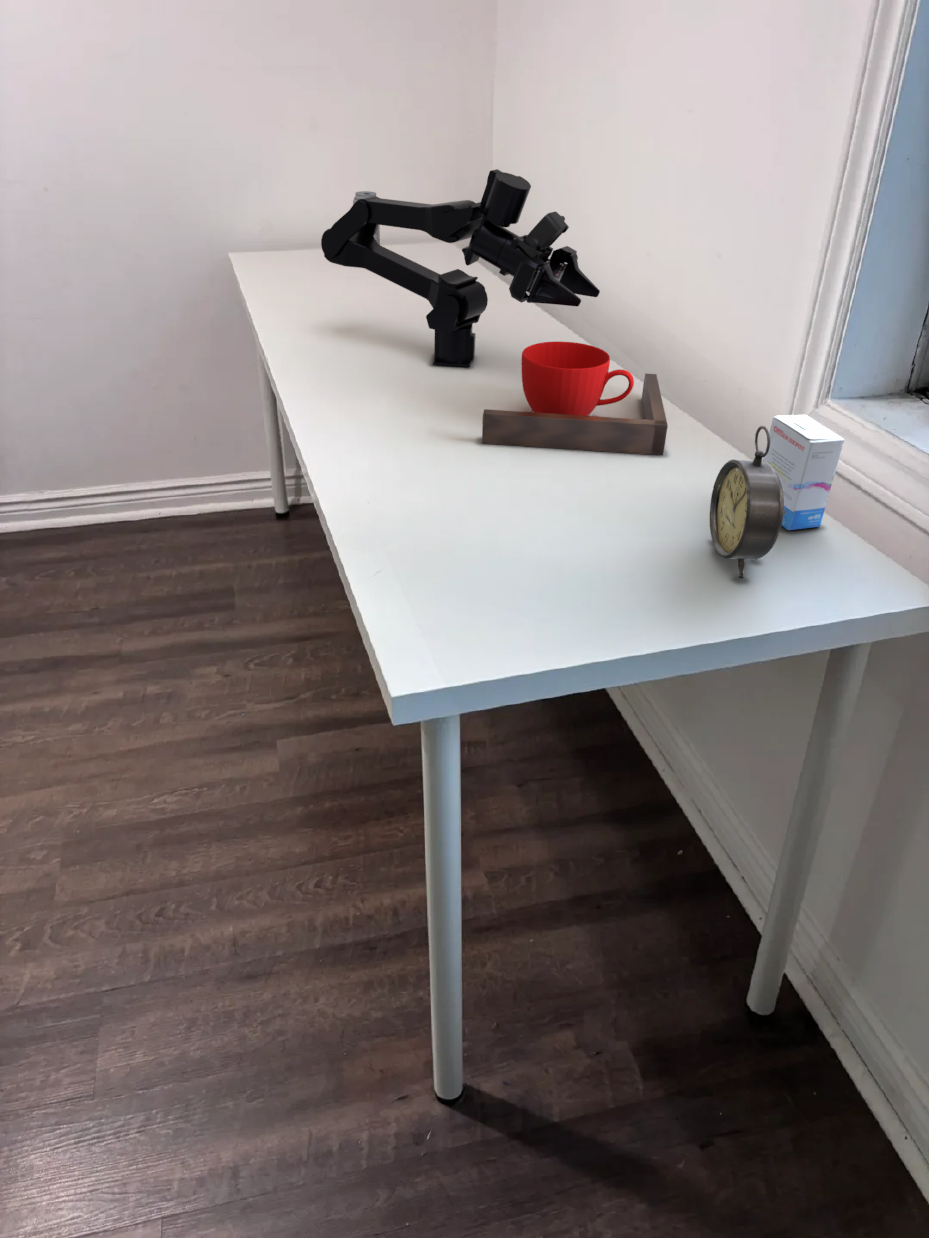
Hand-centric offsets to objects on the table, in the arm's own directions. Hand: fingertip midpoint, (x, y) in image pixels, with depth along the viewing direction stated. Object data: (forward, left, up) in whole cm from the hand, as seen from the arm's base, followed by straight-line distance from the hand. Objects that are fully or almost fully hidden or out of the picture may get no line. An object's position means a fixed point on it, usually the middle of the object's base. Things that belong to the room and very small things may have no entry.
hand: (589, 298), depth 149 cm
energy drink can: (-50, +80, -15) cm, 95 cm away
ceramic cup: (-1, -15, -15) cm, 21 cm away
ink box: (+26, -42, -15) cm, 52 cm away
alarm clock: (+18, -55, -15) cm, 60 cm away
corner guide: (-1, -15, -14) cm, 21 cm away
